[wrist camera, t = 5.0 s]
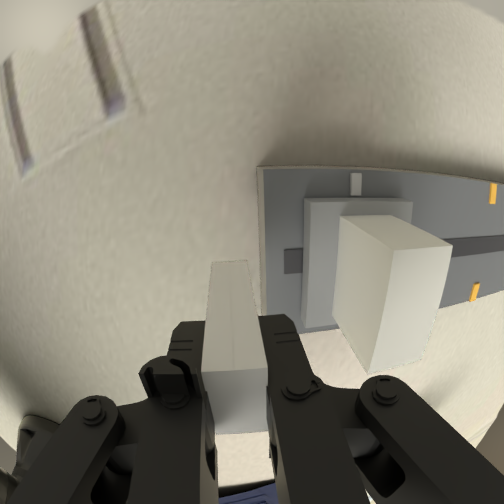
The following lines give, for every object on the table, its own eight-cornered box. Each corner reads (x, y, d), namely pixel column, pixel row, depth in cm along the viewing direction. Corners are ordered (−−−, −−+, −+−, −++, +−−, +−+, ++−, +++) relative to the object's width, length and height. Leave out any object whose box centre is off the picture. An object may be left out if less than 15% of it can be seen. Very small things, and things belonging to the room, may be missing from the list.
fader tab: (300, 316, 16) (332, 392, 11) (303, 198, 14) (356, 231, 8) (386, 304, 17) (438, 362, 11) (401, 197, 14) (477, 227, 9)
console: (261, 312, 20) (267, 339, 17) (256, 166, 16) (263, 169, 13) (495, 275, 22) (513, 287, 19) (510, 184, 18) (532, 191, 15)
